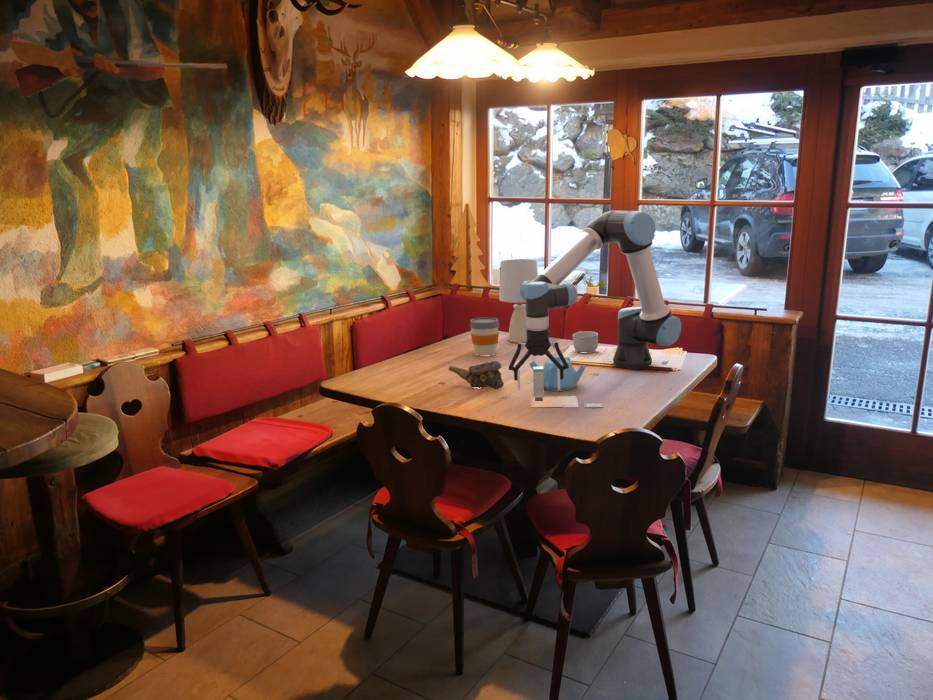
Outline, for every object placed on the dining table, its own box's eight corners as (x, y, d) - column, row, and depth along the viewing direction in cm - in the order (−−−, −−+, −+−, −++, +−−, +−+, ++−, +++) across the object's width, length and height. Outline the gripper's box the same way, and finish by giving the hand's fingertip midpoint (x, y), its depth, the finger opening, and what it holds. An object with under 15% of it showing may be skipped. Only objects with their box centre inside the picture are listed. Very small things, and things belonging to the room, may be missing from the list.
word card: (601, 404, 255) (601, 403, 255) (603, 407, 251) (603, 406, 251) (583, 404, 255) (583, 403, 255) (584, 408, 251) (584, 407, 251)
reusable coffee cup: (468, 357, 326) (467, 322, 323) (474, 350, 338) (473, 317, 335) (497, 357, 324) (496, 323, 320) (502, 350, 336) (501, 317, 332)
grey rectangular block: (543, 398, 263) (543, 366, 260) (544, 401, 259) (543, 369, 257) (533, 398, 263) (533, 366, 260) (533, 401, 260) (533, 369, 257)
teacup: (599, 354, 322) (599, 335, 321) (574, 355, 323) (574, 336, 321) (594, 346, 336) (594, 329, 334) (570, 347, 336) (570, 330, 334)
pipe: (500, 392, 273) (499, 365, 271) (443, 389, 280) (442, 363, 277) (506, 385, 282) (506, 359, 279) (451, 382, 288) (450, 357, 286)
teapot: (565, 377, 289) (565, 349, 286) (587, 389, 273) (587, 359, 270) (528, 382, 284) (527, 353, 281) (548, 395, 268) (547, 364, 265)
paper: (576, 396, 264) (576, 396, 264) (578, 407, 252) (578, 406, 252) (529, 397, 265) (529, 396, 265) (530, 407, 254) (530, 407, 254)
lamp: (529, 346, 342) (528, 264, 333) (493, 343, 351) (490, 263, 342) (547, 338, 357) (545, 259, 349) (511, 335, 366) (509, 258, 358)
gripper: (574, 324, 258) (575, 385, 263) (500, 327, 260) (502, 386, 265) (575, 329, 251) (576, 391, 256) (500, 331, 253) (502, 392, 258)
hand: (539, 389), depth 260 cm, fingers open, 13 cm apart
